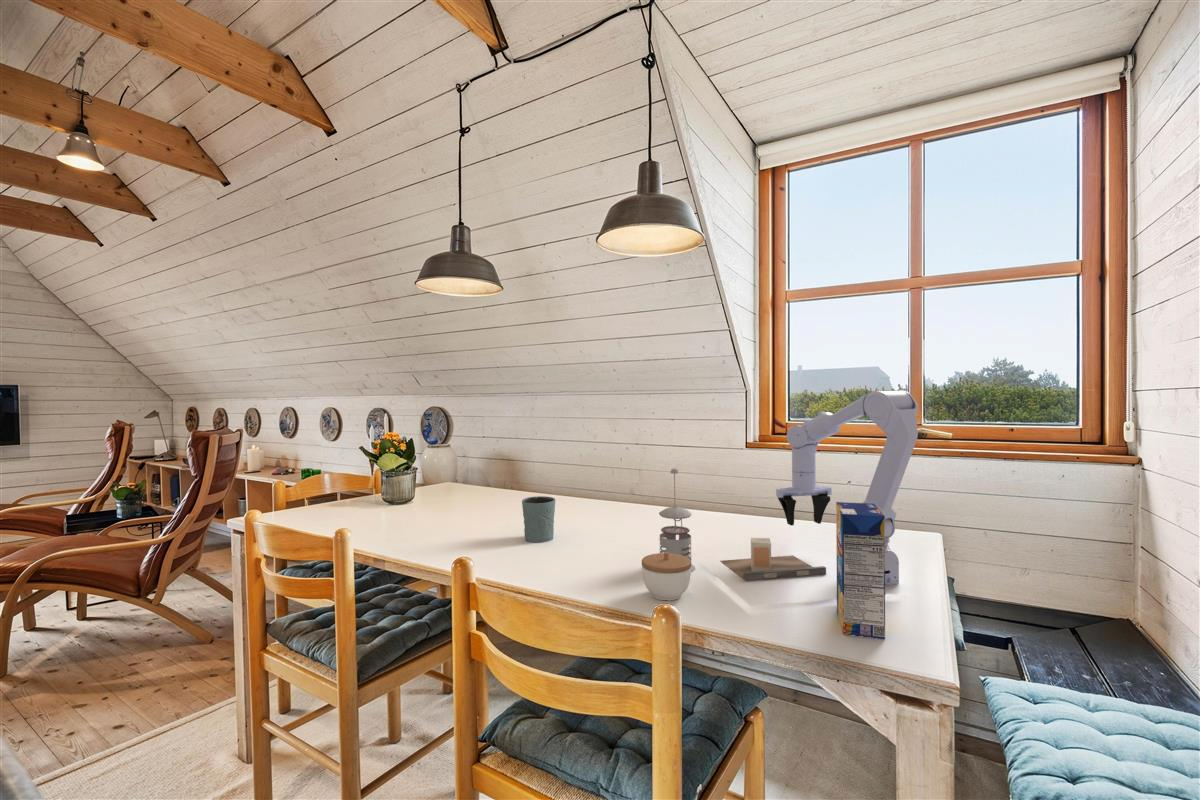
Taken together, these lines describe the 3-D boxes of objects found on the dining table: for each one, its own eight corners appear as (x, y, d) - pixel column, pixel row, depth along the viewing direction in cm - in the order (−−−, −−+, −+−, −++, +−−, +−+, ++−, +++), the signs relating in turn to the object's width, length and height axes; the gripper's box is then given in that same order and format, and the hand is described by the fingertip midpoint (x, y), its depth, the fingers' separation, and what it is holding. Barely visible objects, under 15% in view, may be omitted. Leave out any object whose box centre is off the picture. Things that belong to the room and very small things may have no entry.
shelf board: (826, 579, 129) (826, 567, 129) (745, 586, 125) (745, 574, 125) (792, 559, 144) (792, 549, 144) (719, 565, 140) (719, 554, 140)
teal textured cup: (547, 532, 175) (546, 495, 174) (561, 540, 166) (561, 500, 166) (517, 537, 169) (516, 498, 169) (530, 545, 161) (529, 504, 160)
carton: (751, 566, 136) (750, 537, 136) (769, 567, 135) (769, 538, 135) (752, 572, 131) (751, 542, 131) (771, 573, 130) (771, 543, 130)
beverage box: (843, 635, 100) (842, 514, 100) (836, 611, 111) (836, 501, 110) (885, 639, 98) (884, 516, 98) (874, 615, 109) (874, 503, 108)
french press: (652, 572, 136) (651, 470, 135) (660, 558, 147) (659, 464, 146) (693, 575, 133) (692, 471, 132) (698, 561, 144) (697, 465, 144)
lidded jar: (672, 609, 113) (671, 563, 113) (631, 596, 120) (631, 553, 120) (701, 594, 121) (700, 551, 121) (661, 583, 128) (661, 543, 128)
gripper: (820, 468, 149) (820, 518, 149) (770, 470, 146) (770, 521, 146) (836, 471, 142) (836, 524, 142) (783, 474, 139) (784, 528, 139)
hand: (804, 523), depth 144 cm, fingers open, 7 cm apart
